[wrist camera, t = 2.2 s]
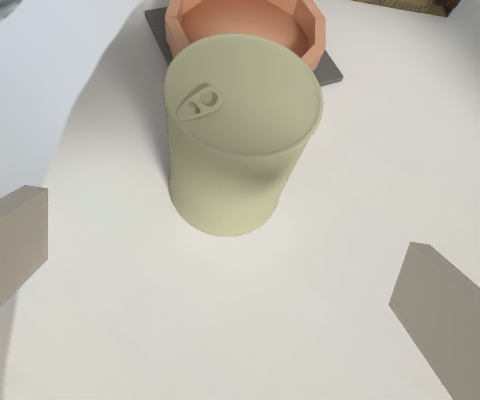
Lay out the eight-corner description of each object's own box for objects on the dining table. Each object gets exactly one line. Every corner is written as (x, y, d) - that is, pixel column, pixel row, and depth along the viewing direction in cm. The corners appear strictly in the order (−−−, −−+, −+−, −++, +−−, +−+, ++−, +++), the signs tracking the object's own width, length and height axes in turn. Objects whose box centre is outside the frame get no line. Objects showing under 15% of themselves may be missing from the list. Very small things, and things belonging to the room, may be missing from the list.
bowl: (276, -16, 43) (282, -42, 40) (341, 81, 37) (354, 58, 35) (148, 6, 38) (145, -22, 36) (202, 119, 33) (203, 96, 30)
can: (149, 166, 31) (130, 53, 20) (241, 124, 34) (267, 8, 23) (205, 258, 28) (218, 184, 18) (300, 204, 31) (360, 113, 21)
